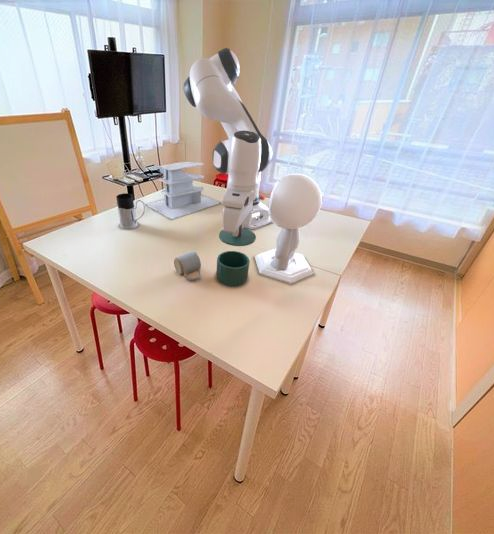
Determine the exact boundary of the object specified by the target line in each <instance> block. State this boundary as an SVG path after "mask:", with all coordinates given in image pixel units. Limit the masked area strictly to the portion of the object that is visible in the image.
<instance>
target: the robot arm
mask: <svg viewBox="0 0 494 534" xmlns="http://www.w3.org/2000/svg"><path fill="white" fill-rule="evenodd" d="M240 72H241V69H240V61H239V58H238V57H237V55H236V54H235V53H234V52H233V51H232V50H231V48H228V47H224V48H222V49H220V50H218V51H217V53H216V54H214V55H212V56H211V57H209V58H207V57H203V58H199V59H197V60H195V61H194V62H193V64H192V65H191V67H190V69H189V76H188V77H187V78H186V79H185V81H184V83H183V87H182V91H183V93H184V94H183V95H184V97H185V99H186V101H187V102H188V103H189V104H190V105H191V107H193V108H196V109H197V111H198V113H200V115H201V116H202V117H203V118H205V119H207V120H209V121H215V122H220V124H221V126H222V128H223V130H224V132H225V133H226V136H227V137H228V139H225V140H222V141H219V142H217V144H216V145H215V146H214V149H213V151H212V166H213V168H214V169H215V170H216V171H217V172H218V173H219V174H223V175H227V176H228V177H227V182H226V189H225V193H224V195H223V197H222V199H221V205H222V206H223V211H222V230H223V229H224V231H225V232H229V233H233V234H232V235H233V236H235V237H237V236H238V235H239V227H240V225H242V229H243V228H245V229H249V230H256V229H258V228H261V227H264V226H266V225H269V224H272V223H273V222H272V220H271V217H270V216H269V214H268V207H269V206H267V205H266V204H264V203H263V202H262V201H265V199H266V197H265V196H264V195H263V194H260V193H259V191H260V185H261V176H262V172H264V170H265V169H267V168H268V166H269V164H270V163H271V161H272V158H273V149H272V146H271V144H270V142H269V141H268V139H267V138H266V137H265V136H264V135H263V134H262V132H261V131H260V130H259V128H258V126H257V124H256V122H255V120H253V117H252V116H251V114H250V112H249V110H248V109H247V107H246V106H245V104H244V103H243V101H242V99H241V97H240V95H239V93H238V92H237V90H236V88H235V87H234V86H235V85H237V80H238V78H239V77H240Z"/></svg>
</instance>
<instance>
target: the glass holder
mask: <svg viewBox="0 0 494 534" xmlns="http://www.w3.org/2000/svg"><path fill="white" fill-rule="evenodd" d="M138 202H141V203H142V205H143V212H142V214H141V215H140V216H139V217H138V218H137V214H136V209H137V208H138ZM116 205H117V211H118V212H117V213H118V218H119V222H120V225H119V227H120V229H122V230H132V229H135V228H137V227H138V226H139V224H138V220H140V219H141V218H142V217H143V216H144V214H145V211H146V204H145V202H144V201H143V200H141V199H138V200H136V202H135V201H134V195H133V194H132V193H126V192H124V193H120V194H117V195H116Z"/></svg>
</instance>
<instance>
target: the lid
mask: <svg viewBox="0 0 494 534" xmlns="http://www.w3.org/2000/svg"><path fill="white" fill-rule="evenodd" d="M232 234H233V233H229V232H225V231H224V229H223V228H222V229H221V231H219V233H218V238H219V240H220V241H221V242H222V243H224V244H226V245H228V246H232V247H246V246H250V245H252V244H254V243H255V242H256V239H257V235H256V233H255V232H253V231H252V230H251V229H249V228H243V229H242V225H240V227H239V235H238V236H237V237H235V236H233V235H232Z"/></svg>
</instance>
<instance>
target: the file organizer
mask: <svg viewBox="0 0 494 534" xmlns="http://www.w3.org/2000/svg"><path fill="white" fill-rule="evenodd" d="M204 165H205V163H203V162H195V161H180V162H173V163H168V164H163V165H158V168H161V169H163V177H161V178H159V182H163V183H164V189H163V190H162V189H161V190H160V194H162V195H164V199H161V200H158V201H154V202H151V203H146V206H147V207H150V208H151V209H152V210H155V211H156V212H158V213H159V214H162V216H164V217H166V218H168V219H170V220H175V219H177V218H180V217H184V216H186V215H189V214H192V213H195V212H198V211H201V210H205V209H208V208H210V207H213V206H216V205H219V204H220V202H219V201H217V200H215V199H212V198H209V197H207V196H205V195H203V194H202V192H204V191H205V188H204V187H203V186H196V185H193V183H194V181H197V180H202V179H205V176H204V175H201V174H193V173H192V174H191V173H186V172H185V171H184V170H182V169H187V168H192V167H199V166H204Z"/></svg>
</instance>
